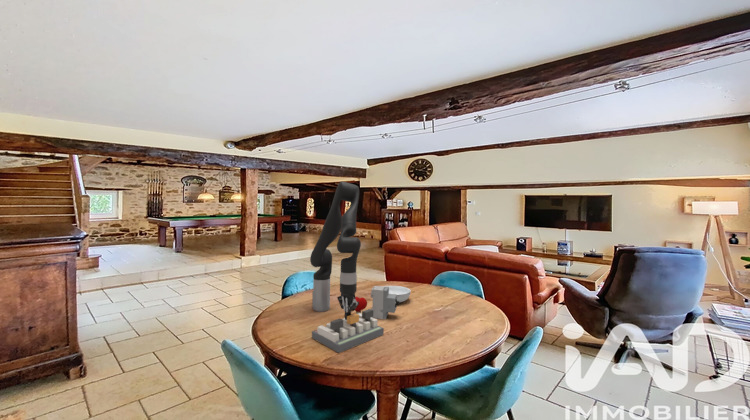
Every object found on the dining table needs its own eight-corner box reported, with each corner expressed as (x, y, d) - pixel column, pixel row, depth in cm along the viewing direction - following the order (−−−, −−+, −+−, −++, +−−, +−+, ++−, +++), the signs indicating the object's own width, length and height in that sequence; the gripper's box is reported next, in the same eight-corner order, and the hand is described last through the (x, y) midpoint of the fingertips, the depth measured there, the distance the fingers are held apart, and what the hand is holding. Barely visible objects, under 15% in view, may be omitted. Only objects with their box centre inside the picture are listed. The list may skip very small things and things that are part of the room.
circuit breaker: (397, 320, 166) (398, 291, 165) (370, 318, 169) (371, 289, 168) (399, 315, 173) (400, 287, 173) (373, 313, 176) (373, 285, 175)
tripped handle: (346, 331, 143) (347, 316, 142) (355, 328, 146) (355, 313, 146) (350, 333, 141) (350, 317, 141) (358, 330, 145) (359, 314, 144)
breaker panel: (311, 338, 144) (312, 315, 143) (356, 322, 162) (356, 302, 161) (338, 353, 130) (339, 327, 130) (383, 334, 148) (383, 312, 148)
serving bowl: (416, 299, 201) (416, 288, 201) (400, 308, 183) (400, 296, 183) (387, 293, 212) (387, 283, 212) (369, 302, 195) (369, 290, 194)
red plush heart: (369, 315, 173) (369, 296, 172) (364, 319, 166) (364, 300, 166) (352, 312, 176) (353, 294, 175) (347, 317, 169) (347, 298, 169)
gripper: (364, 283, 143) (363, 321, 144) (345, 277, 153) (344, 313, 153) (351, 286, 138) (350, 326, 139) (332, 280, 147) (332, 317, 148)
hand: (347, 319), depth 146 cm, fingers closed
